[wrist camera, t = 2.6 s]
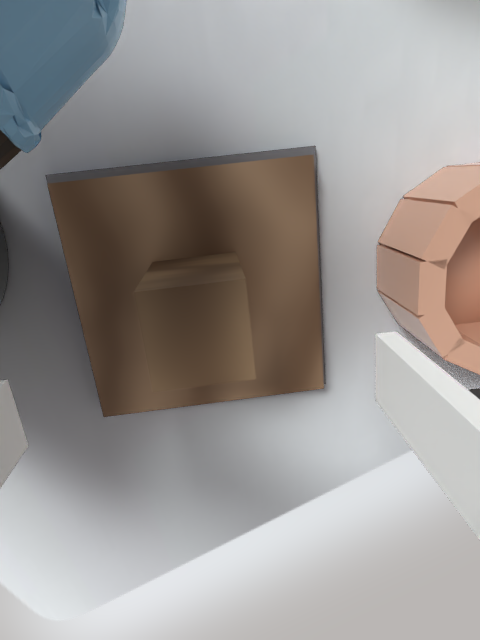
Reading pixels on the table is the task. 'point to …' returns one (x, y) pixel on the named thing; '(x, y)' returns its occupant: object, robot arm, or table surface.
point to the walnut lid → (196, 282)
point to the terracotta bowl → (436, 264)
